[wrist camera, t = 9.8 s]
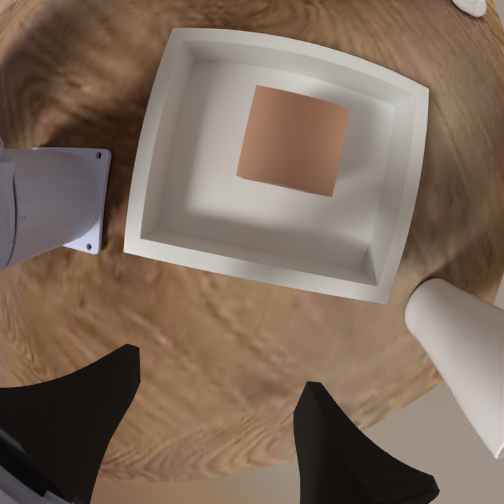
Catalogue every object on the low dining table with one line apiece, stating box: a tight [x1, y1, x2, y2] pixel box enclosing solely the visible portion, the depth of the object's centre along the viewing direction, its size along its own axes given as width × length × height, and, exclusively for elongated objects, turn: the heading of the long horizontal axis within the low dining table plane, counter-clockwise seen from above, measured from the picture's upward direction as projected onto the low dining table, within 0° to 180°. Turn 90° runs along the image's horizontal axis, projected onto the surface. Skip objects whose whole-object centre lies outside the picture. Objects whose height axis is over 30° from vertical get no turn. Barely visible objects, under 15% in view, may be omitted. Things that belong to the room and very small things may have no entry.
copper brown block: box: [236, 85, 349, 197], centre depth 13 cm, size 4×4×6 cm
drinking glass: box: [405, 278, 504, 459], centre depth 12 cm, size 7×7×15 cm
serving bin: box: [124, 28, 429, 304], centre depth 15 cm, size 16×14×4 cm
